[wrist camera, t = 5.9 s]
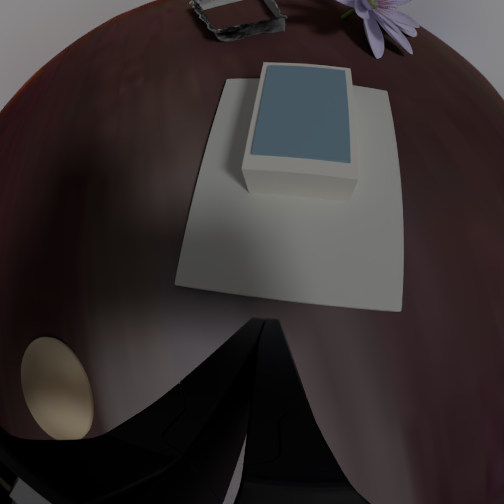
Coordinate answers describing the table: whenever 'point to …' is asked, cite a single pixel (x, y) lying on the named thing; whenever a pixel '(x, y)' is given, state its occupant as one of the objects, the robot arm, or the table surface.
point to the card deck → (303, 133)
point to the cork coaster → (57, 389)
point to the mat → (297, 219)
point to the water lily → (382, 22)
